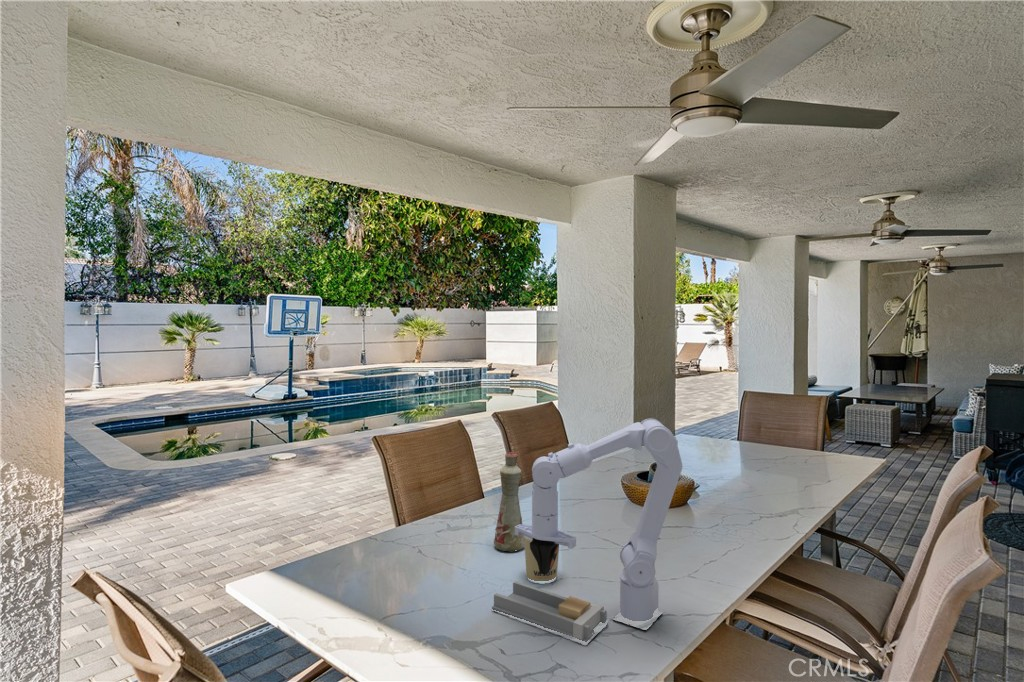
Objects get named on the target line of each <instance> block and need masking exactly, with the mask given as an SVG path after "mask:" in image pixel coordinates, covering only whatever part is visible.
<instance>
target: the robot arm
mask: <svg viewBox="0 0 1024 682" xmlns="http://www.w3.org/2000/svg"><path fill="white" fill-rule="evenodd" d="M678 445H679V442H678V440H677V438H676V437H675V435H674V433H672V431H671V430H670V429H669V428H668V427H666V426H665V425H663V423H662V422H661V421H660V420H658V419H656V418H646V419H643V420H642V421H641V422H639V421H637V422H634V423H631V424H630V425H627V426H625V427H623V428H622V429H619V430H617V431H615V432H612V433H610V434H609V435H606V436H605V437H603V438H600V439H598V440H596V441H594V442H591V443H590V444H588V445H585V444H582V443H579V442H578V443H575V444H574V442H570V443H568V444H567V446H568V447H566V448H564V449H561V450H558V451H556V452H553V451H551V452H549V453H548V454H547V456H540V457H538V458H536V459H535V461H534V462H533V464H532V467H531V472H532V473H531V476H532V480H533V481H532V493H531V496H532V497H531V525H525V524H522V525H521V524H519V525H517V526H515V535H517V536H519V535H523V536H527V537H531V538H533V540H532V542H530V548H531V549H532V551H533V553H534V555H535V557H536V560H537V563H538V567H539V572H540V574H543V575H546V574H547V573H548V572H549V570H550V566H551V562H552V559H553V556H554V554H555V551H556V549H557V547H558V546H559V547H560V546H564V547H567V548H568V549H570V550H571V549H574V548H576V546H577V536H572V535H570V534H567V533H565V532H563V531H562V530H559V529H558V528H559V520H558V519H559V491H558V483H559V480H560V479H566V478H568V477H570V476H572V475H574V474H575V475H576V474H577V473H580V472H582V471H585V470H586V469H588V468H590V467H591V464H592V462H593V460H596V459H599V458H601V457H603V456H604V457H605V456H607V455H610V454H612V453H614V452H617V451H619V450H622V449H623V450H624V449H626V448H628V449H633V450H638V451H643V447H642V446H644V447H645V449H646V450H647V451H648V452H649V453H650V454H651V456H652V459H653V461H654V462H655V464H656V469H655V471H654V475H653V477H652V481H651V483H650V486H649V489H648V493H647V495H646V498H645V501H644V504H643V507H642V509H641V512H640V515H639V518H638V521H637V524H636V528H635V530H634V532H633V533H631V534H630V535H629V539H628V541H627V542H626V543H625V544H624V545H623V547H621V549H620V552H619V558H620V562H621V563H622V565H623V570H622V571H621V573H620V578H619V579H620V581H619V612H620V613H621V615H622V616H623V617H624V618H627V619H629V620H632V621H646V620H649V619H651V618H652V617H653V613H654V611H655V610H656V609H657V608H658V609H659V597H660V596H659V588H660V587H659V582H658V579H657V578H656V567H655V566H656V565H655V563H656V561H657V560H656V559H657V555H658V552H657V548H658V547H657V544H658V540H659V537H660V534H661V531H662V528H663V526H664V524H665V520H666V517H667V515H668V511H669V508H670V505H671V503H672V500H673V497H674V494H675V491H676V488H677V485H678V482H679V479H680V477H681V474H682V470H683V462H682V459H681V458H682V457H681V453H680V450H679V446H678Z"/></svg>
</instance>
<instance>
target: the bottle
mask: <svg viewBox="0 0 1024 682" xmlns="http://www.w3.org/2000/svg"><path fill="white" fill-rule="evenodd" d="M504 456H505V464H504V465H503V466H502V467H501V469H500V471H499V474H500V475H499V476H500V483H501V484H500V485H501V492H502V493H501V500H500V503H499V504H500V505H499V510H498V517H497V519H496V520H497V521H496V526H495V529H494V531H495V532H494V533H495V534H494V540H493V544H494V545H493V546H494V547H495V548H496V549H497V550H498V549H499V550H498V551H501V550H503V551H502V552H504V551H514V552H516V551H515V550H518V551H520V550H522V549H524V548H525V542H524V536H523V535H519V536H517V535H515V526H517V525H519V524H521V525H523V518H522V513H521V505H520V498H519V488H520V482H521V476H522V470H521V468H520V467H519V466H518V464H517V461H518V455H517V453H516V452H512V451H510V452H506V453H505V455H504ZM519 549H520V550H519Z"/></svg>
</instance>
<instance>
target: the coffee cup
mask: <svg viewBox="0 0 1024 682" xmlns="http://www.w3.org/2000/svg"><path fill="white" fill-rule="evenodd" d="M532 540H533V538H531V537H527V536H524V542H525V546H524V556H525V571H526V572H525V573H526V578H527V577H528V578H529V579H531V580H534V581H549V580H552V579H554V578H555V577H556V576H557V577H558V569H559V568H558V566H559V565H558V564H559V553H560V545H559V546H558V547H557V549H556V551H555V554H554V556H553V559H552V562H551V566H550V570H549V572H548V573H547V574H546V575H543V574H540V572H539V567H538V563H537V560H536V557H535V555H534V553H533V551H532V549H531V548H530V542H532Z"/></svg>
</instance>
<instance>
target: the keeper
mask: <svg viewBox="0 0 1024 682" xmlns="http://www.w3.org/2000/svg"><path fill="white" fill-rule="evenodd" d="M566 598H567V599H566V600H565V601H563V602H562V603H561V604H559V614H558V615H561V616H564V617H567V618H570V619H573V620H577V619H578V618H579V617H580V616H581V615H582V614H584V613H585V612H586V611H587V610H588V609H589V608H590V605H591V602H590V601H586V600H584V599H581V598H578V597H574V596H572V595H569V596H568V597H566Z"/></svg>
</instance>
